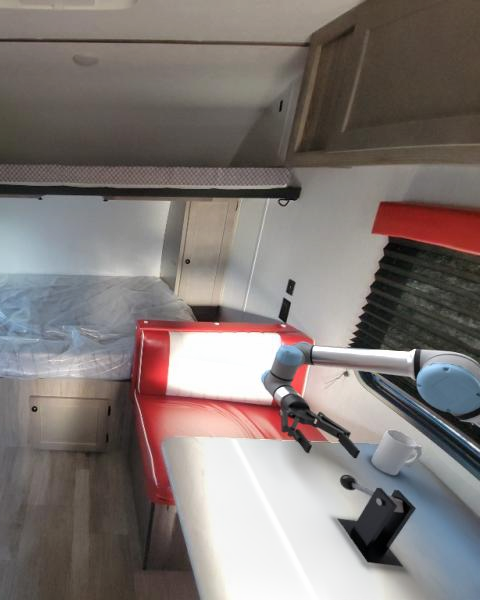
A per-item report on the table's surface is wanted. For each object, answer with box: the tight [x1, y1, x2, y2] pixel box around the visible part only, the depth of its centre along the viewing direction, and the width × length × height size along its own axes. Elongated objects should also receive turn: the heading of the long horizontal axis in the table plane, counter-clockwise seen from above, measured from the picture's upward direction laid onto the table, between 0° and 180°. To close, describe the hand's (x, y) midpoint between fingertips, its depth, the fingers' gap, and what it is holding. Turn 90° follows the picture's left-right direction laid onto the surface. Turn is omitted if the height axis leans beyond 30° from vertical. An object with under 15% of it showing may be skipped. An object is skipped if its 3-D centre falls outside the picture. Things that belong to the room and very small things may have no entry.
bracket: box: [337, 487, 417, 568], centre depth 76 cm, size 10×8×16 cm
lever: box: [339, 474, 403, 513], centre depth 80 cm, size 15×4×4 cm, turn 178°
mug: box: [370, 428, 423, 476], centre depth 100 cm, size 10×7×12 cm, turn 73°
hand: (333, 452), depth 94 cm, fingers open, 13 cm apart
